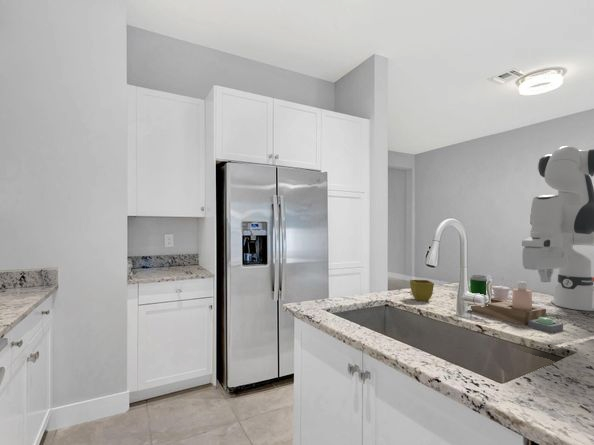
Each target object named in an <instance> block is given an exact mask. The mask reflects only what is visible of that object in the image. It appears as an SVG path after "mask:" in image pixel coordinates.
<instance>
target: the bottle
mask: <svg viewBox="0 0 594 445" xmlns="http://www.w3.org/2000/svg"><path fill="white" fill-rule="evenodd" d="M527 283H528V282H526V281H517V288H512V289H511V290H512V294H511V295H512V300H511V302H512V308H516V309H521V310H525V311H528V310H532V306H533V290H530V289H527V288H528V284H527Z"/></svg>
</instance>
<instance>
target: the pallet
mask: <svg viewBox="0 0 594 445" xmlns="http://www.w3.org/2000/svg"><path fill="white" fill-rule="evenodd" d="M471 309H472V311H471V312H473V313H478V314H481V315H485V316H488V317H491V318H496V319H498V320H499V319H500V320H503V321H508V322H511V323H516V324H519V325H522V326H528V324H529V321H530V320H535V319H538V317H546V318H547V308H544V307H540V306H535V305H532V310H528V311H525V310H521V309H516V308H512V300H507V301H506V300H502V299H497V298H494V297H492V298H491V303H489V304H488V306H486V307H481V306H471Z"/></svg>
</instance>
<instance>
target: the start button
mask: <svg viewBox="0 0 594 445" xmlns="http://www.w3.org/2000/svg"><path fill="white" fill-rule="evenodd" d="M538 322H539V323H543V324H547V325H552V324H553V322H554V320H553V318H549V317H547V316H546V317H538Z"/></svg>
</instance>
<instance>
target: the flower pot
mask: <svg viewBox="0 0 594 445" xmlns="http://www.w3.org/2000/svg"><path fill="white" fill-rule="evenodd" d="M409 284H410V291H411V295H412V296H413V298H414V299H415V300H417V301H419V302H422V301H424V302H428V301H429V300H431V298H432V295H433V292H434V286H435V283H434V282H432V281H430V280H428V279H409Z"/></svg>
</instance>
